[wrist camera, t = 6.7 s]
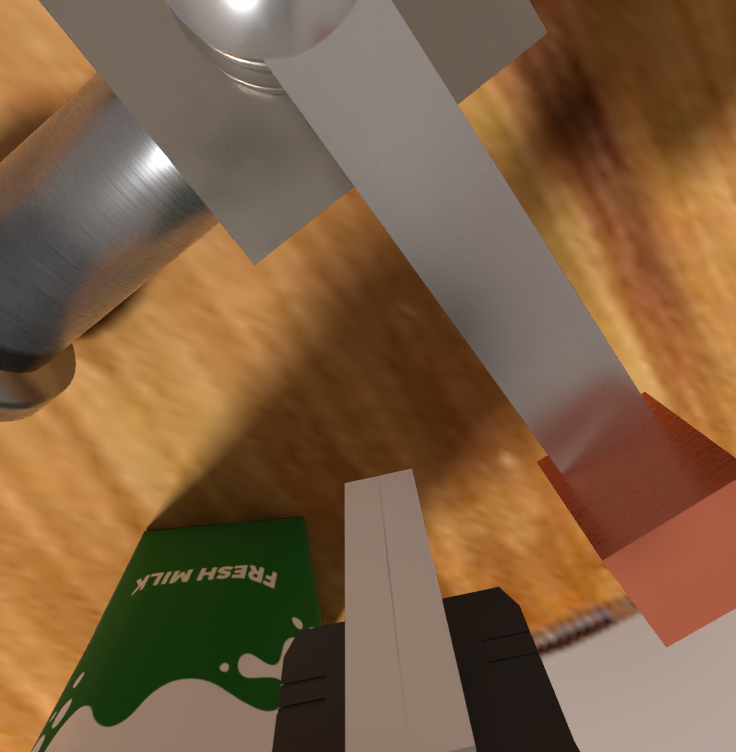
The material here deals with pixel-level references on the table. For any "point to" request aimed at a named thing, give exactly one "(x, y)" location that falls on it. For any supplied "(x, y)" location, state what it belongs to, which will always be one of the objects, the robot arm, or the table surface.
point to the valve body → (176, 167)
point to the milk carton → (192, 644)
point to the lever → (501, 294)
